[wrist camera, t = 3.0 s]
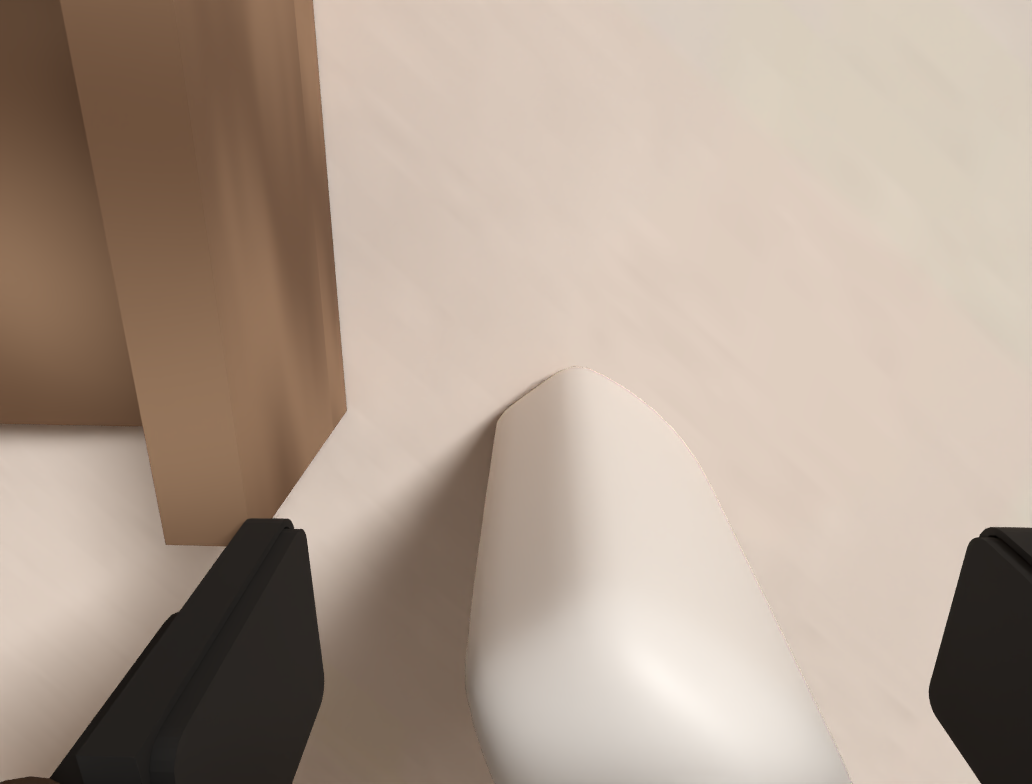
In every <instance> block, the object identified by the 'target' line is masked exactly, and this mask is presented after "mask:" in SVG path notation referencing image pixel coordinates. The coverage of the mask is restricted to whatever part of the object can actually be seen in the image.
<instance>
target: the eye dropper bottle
mask: <svg viewBox="0 0 1032 784" xmlns="http://www.w3.org/2000/svg"><path fill="white" fill-rule="evenodd" d="M465 687H466V694H467V698H468V703H469V707H470V712H471V717H472V721H473V725H474V729H475V732H476V735H477V738H478V741H479V744H480V747H481V750H482V753H483V756H484V759H485V761H486V764H487V766H488V769H489V771H490V774H491V776H492V779H493V781H494V783H495V784H853V783H852V781H851V778H850V776H849V774H848V771H847V769H846V767H845V764H844V762H843V760H842V757H841V755H840V753H839V750H838V748H837V746H836V744H835V742H834V740H833V737H832V735H831V733H830V731H829V729H828V727H827V725H826V723H825V721H824V719H823V716H822V714H821V712H820V710H819V708H818V706H817V704H816V702H815V700H814V697H813V695H812V693H811V691H810V689H809V687H808V685H807V683H806V681H805V679H804V676H803V674H802V672H801V670H800V668H799V666H798V664H797V662H796V660H795V658H794V656H793V654H792V652H791V650H790V647H789V645H788V643H787V641H786V639H785V637H784V635H783V633H782V631H781V629H780V627H779V625H778V623H777V621H776V618H775V616H774V614H773V612H772V610H771V608H770V606H769V604H768V602H767V600H766V598H765V596H764V594H763V592H762V589H761V587H760V585H759V583H758V581H757V579H756V577H755V575H754V573H753V571H752V569H751V567H750V565H749V563H748V561H747V558H746V556H745V554H744V552H743V550H742V548H741V546H740V544H739V542H738V540H737V538H736V536H735V534H734V532H733V530H732V528H731V525H730V523H729V521H728V519H727V517H726V515H725V513H724V511H723V509H722V507H721V505H720V503H719V501H718V499H717V497H716V494H715V492H714V490H713V488H712V486H711V484H710V482H709V481H708V479H707V477H706V475H705V473H704V471H703V469H702V468H701V466H700V464H699V463H698V461H697V460H696V458H695V456H694V455H693V453H692V452H691V451H690V449H689V448H688V446H687V445H686V444H685V442H684V441H683V440H682V439H681V437H680V436H679V435H678V434H677V432H676V431H675V430H674V429H673V428H672V427H671V426H670V425H669V424H668V423H667V422H666V420H664V419H663V418H662V417H661V416H660V415H659V414H658V413H657V412H656V411H655V410H654V409H653V408H651V407H650V406H649V405H648V404H647V403H645V402H644V401H643V400H642V399H640V398H639V397H638V396H636V395H635V394H634V393H632V392H631V391H629V390H628V389H626V388H625V387H623V386H622V385H620V384H619V383H617V382H615V381H613V380H612V379H610V378H608V377H606V376H605V375H603V374H601V373H598V372H596V371H594V370H592V369H590V368H583V367H576V366H573V367H570V368H567V369H564V370H561V371H559V372H557V373H556V374H554V375H553V376H551V377H550V378H548V379H547V380H545V381H544V382H543V383H541V384H540V385H539V386H537V387H536V388H534V389H533V390H532V391H530V392H529V393H527V394H526V395H525V396H523V397H522V398H521V399H519V400H518V401H516V402H515V403H514V404H513V405H511V406H510V407H509V408H508V409H506V410H505V412H504V413H503V414H502V416H501V417H500V418H499V420H498V421H497V425H496V431H495V438H494V445H493V451H492V458H491V465H490V472H489V479H488V485H487V492H486V499H485V506H484V513H483V520H482V528H481V535H480V542H479V549H478V557H477V564H476V571H475V578H474V585H473V595H472V604H471V614H470V623H469V633H468V642H467V652H466V662H465Z"/></svg>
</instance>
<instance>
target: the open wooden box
mask: <svg viewBox="0 0 1032 784" xmlns="http://www.w3.org/2000/svg"><path fill="white" fill-rule="evenodd" d="M346 411H347V407H346V395H345V383H344V371H343V359H342V347H341V335H340V323H339V311H338V299H337V287H336V275H335V263H334V251H333V239H332V227H331V215H330V203H329V191H328V179H327V167H326V155H325V143H324V130H323V118H322V106H321V94H320V82H319V70H318V58H317V46H316V34H315V22H314V10H313V0H0V424H47V425H98V426H143V430H144V435H145V440H146V445H147V451H148V456H149V461H150V466H151V471H152V476H153V481H154V487H155V492H156V497H157V502H158V507H159V512H160V517H161V522H162V528H163V533H164V538H165V543H166V545H197V546H227V545H228V544H229V542H230V541H231V540H232V538H233V537H234V535H235V534H236V533H237V531H238V530H239V529H240V527H241V526H242V524H243V523H244V522H245V521H246V520H247V519H250V518H273V516H274V515H275V513H276V512H277V510H278V509H279V508H280V506H281V505H282V503H283V502H284V500H285V499H286V497H287V496H288V495H289V493H290V492H291V490H292V489H293V487H294V486H295V484H296V483H297V482H298V480H299V479H300V477H301V476H302V474H303V473H304V471H305V470H306V469H307V467H308V466H309V464H310V463H311V461H312V460H313V459H314V457H315V456H316V454H317V453H318V451H319V450H320V448H321V447H322V446H323V444H324V443H325V441H326V440H327V438H328V437H329V435H330V434H331V433H332V431H333V430H334V428H335V427H336V425H337V424H338V422H339V421H340V420H341V418H342V417H343V415H344V414H345V412H346Z"/></svg>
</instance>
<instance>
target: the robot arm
mask: <svg viewBox="0 0 1032 784" xmlns="http://www.w3.org/2000/svg"><path fill="white" fill-rule="evenodd" d="M323 691H324V672H323V664H322V656H321V648H320V640H319V632H318V624H317V616H316V608H315V601H314V593H313V585H312V577H311V569H310V561H309V553H308V545H307V538H306V534H305V532H304V530H303V529H294V526H293V524H292V522H291V520H289V519H273V518H250V519H247V520H246V521H245V522H244V523H243V524H242V526H241V527H240V529H239V530H238V531H237V533H236V534H235V535H234V537H233V538H232V540H231V541H230V542H229V544H228V545H227V547H226V548H225V549H224V551H223V552H222V553H221V555H220V556H219V558H218V559H217V560H216V562H215V563H214V565H213V566H212V567H211V569H210V570H209V571H208V573H207V574H206V576H205V577H204V578H203V580H202V581H201V583H200V584H199V585H198V587H197V588H196V589H195V591H194V592H193V594H192V595H191V596H190V598H189V599H188V601H187V602H186V603H185V605H184V606H183V607H182V609H181V610H180V611H179V612H177V613H175V614H172V615H171V616H170V617H169V618H168V619H167V620H166V621H165V622H164V624H163V625H162V627H161V628H160V629H159V631H158V632H157V633H156V635H155V636H154V637H153V639H152V640H151V641H150V643H149V644H148V646H147V647H146V648H145V650H144V651H143V652H142V654H141V655H140V656H139V658H138V659H137V660H136V662H135V663H134V664H133V666H132V667H131V669H130V670H129V671H128V673H127V674H126V675H125V677H124V678H123V679H122V681H121V682H120V683H119V685H118V686H117V688H116V689H115V690H114V692H113V693H112V694H111V696H110V697H109V698H108V700H107V701H106V702H105V704H104V705H103V707H102V708H101V709H100V711H99V712H98V713H97V715H96V716H95V717H94V719H93V720H92V721H91V723H90V724H89V726H88V727H87V728H86V730H85V731H84V732H83V734H82V735H81V736H80V738H79V739H78V740H77V742H76V743H75V745H74V746H73V747H72V749H71V750H70V751H69V753H68V754H67V755H66V757H65V758H64V759H63V761H62V762H61V764H60V765H59V766H58V768H57V769H56V770H55V772H54V773H53V774H52V776H51V777H50V778H39V777H25V778H18V779H12V780H6V781H3V782H0V784H292V782H293V779H294V776H295V774H296V771H297V768H298V765H299V763H300V760H301V757H302V754H303V752H304V749H305V746H306V743H307V741H308V738H309V735H310V733H311V730H312V727H313V724H314V722H315V719H316V716H317V713H318V711H319V708H320V705H321V702H322V697H323ZM929 699H930V704H931V707H932V710H933V712H934V714H935V716H936V717H937V719H938V720H939V722H940V723H941V725H942V726H943V728H944V729H945V731H946V732H947V734H948V735H949V737H950V738H951V740H952V741H953V743H954V744H955V746H956V747H957V749H958V750H959V751H960V753H961V754H962V756H963V757H964V759H965V760H966V762H967V763H968V765H969V766H970V768H971V769H972V771H973V772H974V774H975V775H976V777H977V778H978V780H979V781H980V783H981V784H1032V528H1016V527H990V528H987V529H985V530H984V531H983V532H982V533H981V534H980V536H979V537H977V538H974V539H972V540H971V541H970V543H969V545H968V547H967V550H966V554H965V558H964V561H963V565H962V569H961V572H960V576H959V580H958V583H957V587H956V591H955V594H954V598H953V601H952V605H951V609H950V612H949V616H948V620H947V623H946V627H945V631H944V634H943V638H942V642H941V645H940V649H939V653H938V656H937V660H936V663H935V667H934V671H933V674H932V678H931V682H930V686H929Z"/></svg>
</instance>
